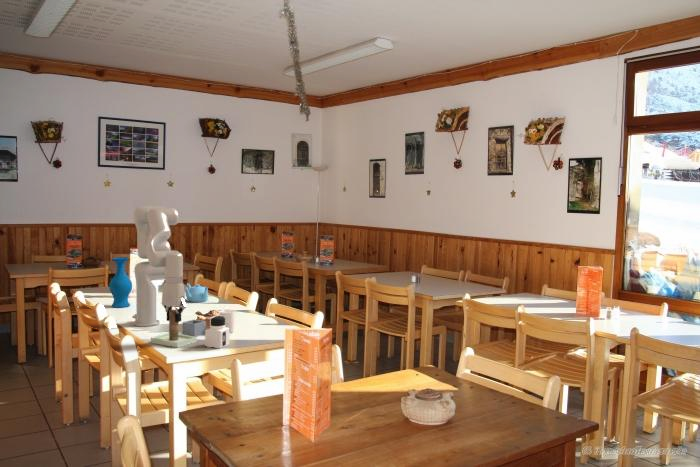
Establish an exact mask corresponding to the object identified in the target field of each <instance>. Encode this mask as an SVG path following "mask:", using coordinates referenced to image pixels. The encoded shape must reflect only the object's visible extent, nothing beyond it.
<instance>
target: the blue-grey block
mask: <svg viewBox="0 0 700 467" xmlns="http://www.w3.org/2000/svg"><path fill="white" fill-rule="evenodd" d="M206 329H207V321H205V320H200V319H190V320H186V321H183V322H182V335H188V336H193V337H197V338H198V337H200V336H203V335H205V330H206Z"/></svg>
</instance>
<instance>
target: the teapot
mask: <svg viewBox="0 0 700 467" xmlns="http://www.w3.org/2000/svg"><path fill="white" fill-rule="evenodd" d="M186 285H187V287H184V290H185V298H186V300H187V301H188V302H190V303H204V302H207V301H208V299H209V291H208V290H209V286H201V285H200V284H199V283H198V284H197V283H196V284H195V285H194V286H191V284H190V283H188V282H187V283H186Z"/></svg>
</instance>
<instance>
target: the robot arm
mask: <svg viewBox="0 0 700 467" xmlns="http://www.w3.org/2000/svg"><path fill="white" fill-rule="evenodd" d="M179 217H180V215H179V212H178V210H177V209H176V208H174V207H171V206H165V205H162V206H161V205H159V206H157V205H155V206H154V205H145V206H144V205H143V206H138V207H136V208H135V209H134V210H133V221H134V224H135V225H134V226H135V227H136V233H137V234H136V236H137V255H138V258H140V259H143V260H148V261H140V262H138V263H136V264H135V265H134V269H133V270H134V277H135V285H136V297H135V298H136V313H134V315H132V317H131V318H132V319H135V320H134V321H133V324H132V325H134V326H135V327H136V326H137V327H152V326H157V325H159V324H160V320H159V319H157V287H156V286H155V285H154V283H153V282H152V281H159V280H164V283H163V287H162V291H161V292H162V293H161V305H162V306H163V308H164V309H165V312H166V321H167V322H169V310H173V307H174V308H175V309H174V310H176V313H175V322H182V313H183V312H184V310H185V309H187V304H186V289H185V286H184V280H183V279H184V271H183V270H184V257H183V253H181V252H179V251H178V250H172V249H171V245H170V242H169V241H168V240H169V238H170V237H171V235H172V232H171V228H170V226H176V225H177V224H178V223H179V221H180V219H179Z"/></svg>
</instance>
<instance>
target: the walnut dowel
mask: <svg viewBox="0 0 700 467" xmlns="http://www.w3.org/2000/svg"><path fill="white" fill-rule="evenodd" d="M175 313H176V309H172V310H169V321H168V328H169V330H168V333H169V340H178V339H179V334H180V333H179V329H180V328H179V327H180V326H179V322H175Z"/></svg>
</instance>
